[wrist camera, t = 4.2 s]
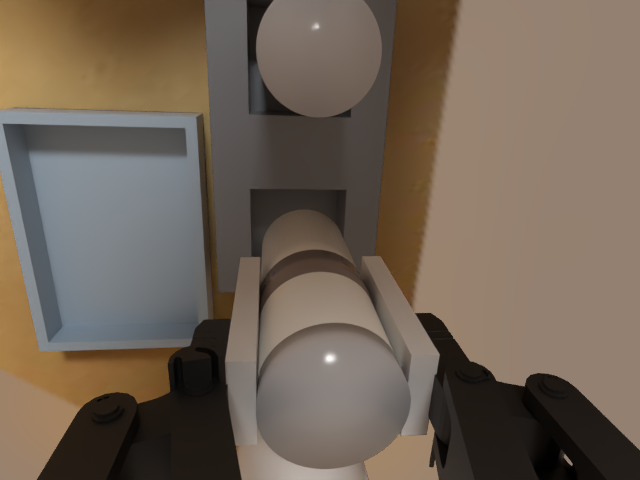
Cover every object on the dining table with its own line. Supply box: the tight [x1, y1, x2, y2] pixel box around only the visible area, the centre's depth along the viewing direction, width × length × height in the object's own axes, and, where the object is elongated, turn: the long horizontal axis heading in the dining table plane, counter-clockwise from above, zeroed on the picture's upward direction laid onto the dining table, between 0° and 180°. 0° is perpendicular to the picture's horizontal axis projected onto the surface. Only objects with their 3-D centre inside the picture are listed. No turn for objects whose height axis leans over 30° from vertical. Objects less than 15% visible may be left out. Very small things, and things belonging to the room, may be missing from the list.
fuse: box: [256, 0, 382, 118], centre depth 19 cm, size 4×4×11 cm
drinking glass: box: [237, 429, 369, 480], centre depth 25 cm, size 7×7×15 cm
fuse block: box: [204, 0, 397, 292], centre depth 25 cm, size 16×9×4 cm, turn 178°
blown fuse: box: [256, 209, 411, 469], centre depth 16 cm, size 4×4×11 cm
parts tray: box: [0, 108, 214, 352], centre depth 26 cm, size 14×10×2 cm
